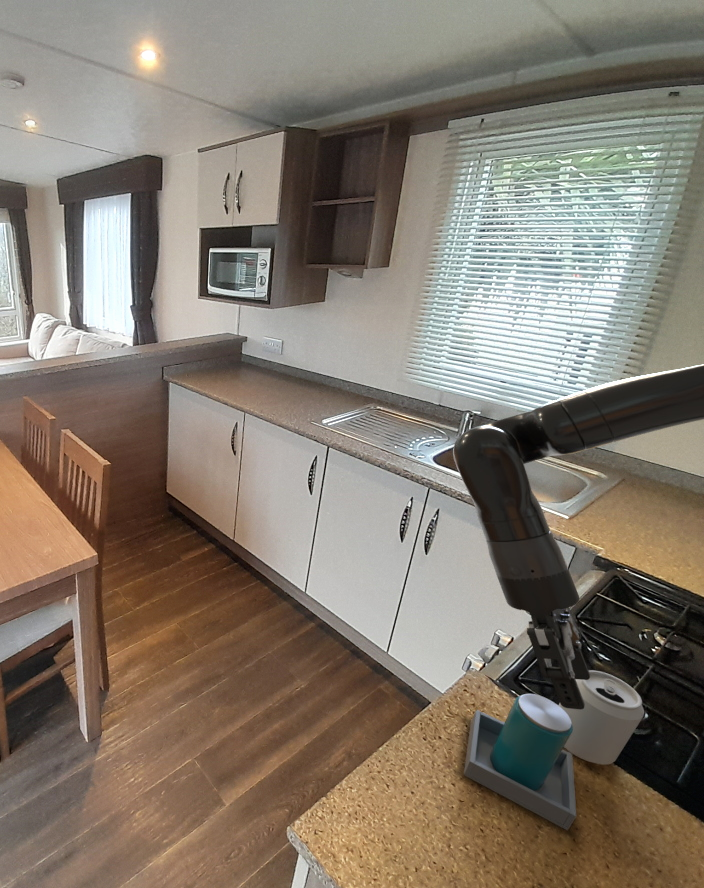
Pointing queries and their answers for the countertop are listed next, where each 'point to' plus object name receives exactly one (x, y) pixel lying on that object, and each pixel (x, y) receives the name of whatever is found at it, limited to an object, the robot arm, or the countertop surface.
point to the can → (603, 718)
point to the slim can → (531, 740)
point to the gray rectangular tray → (546, 802)
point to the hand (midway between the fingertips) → (577, 692)
